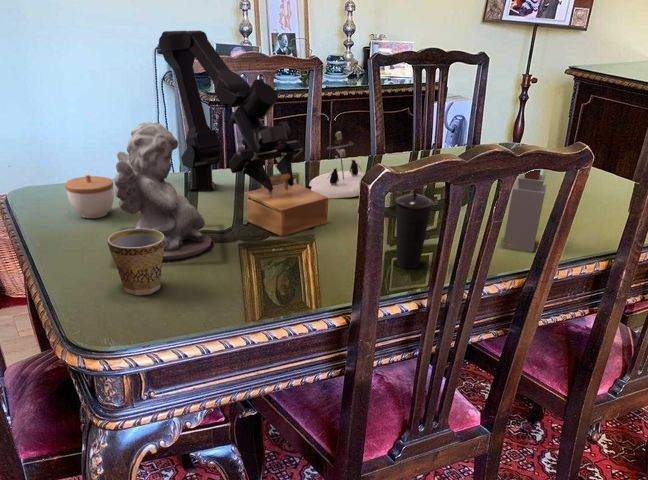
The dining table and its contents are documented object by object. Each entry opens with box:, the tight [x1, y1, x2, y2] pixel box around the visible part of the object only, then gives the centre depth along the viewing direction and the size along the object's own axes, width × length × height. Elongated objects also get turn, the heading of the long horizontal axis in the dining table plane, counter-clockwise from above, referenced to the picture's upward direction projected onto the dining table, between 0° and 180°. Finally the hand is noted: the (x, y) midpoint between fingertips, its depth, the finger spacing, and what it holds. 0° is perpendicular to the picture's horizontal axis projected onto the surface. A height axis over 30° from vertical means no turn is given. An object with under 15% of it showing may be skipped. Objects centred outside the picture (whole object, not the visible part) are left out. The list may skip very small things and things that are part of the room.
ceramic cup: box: [106, 227, 164, 296], centre depth 119 cm, size 13×10×10 cm
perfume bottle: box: [502, 169, 548, 253], centre depth 142 cm, size 7×7×18 cm
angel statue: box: [114, 121, 215, 263], centre depth 133 cm, size 22×22×25 cm
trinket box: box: [64, 174, 115, 219], centre depth 152 cm, size 11×11×9 cm
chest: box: [246, 198, 329, 237], centre depth 153 cm, size 13×15×5 cm
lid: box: [244, 173, 329, 213], centre depth 150 cm, size 13×15×5 cm
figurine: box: [308, 131, 365, 199], centre depth 175 cm, size 20×18×16 cm
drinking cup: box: [394, 188, 434, 269], centre depth 130 cm, size 8×8×20 cm
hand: (282, 187), depth 152 cm, fingers closed on lid, 6 cm apart
